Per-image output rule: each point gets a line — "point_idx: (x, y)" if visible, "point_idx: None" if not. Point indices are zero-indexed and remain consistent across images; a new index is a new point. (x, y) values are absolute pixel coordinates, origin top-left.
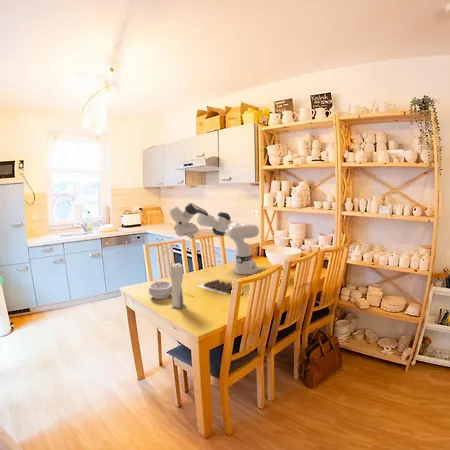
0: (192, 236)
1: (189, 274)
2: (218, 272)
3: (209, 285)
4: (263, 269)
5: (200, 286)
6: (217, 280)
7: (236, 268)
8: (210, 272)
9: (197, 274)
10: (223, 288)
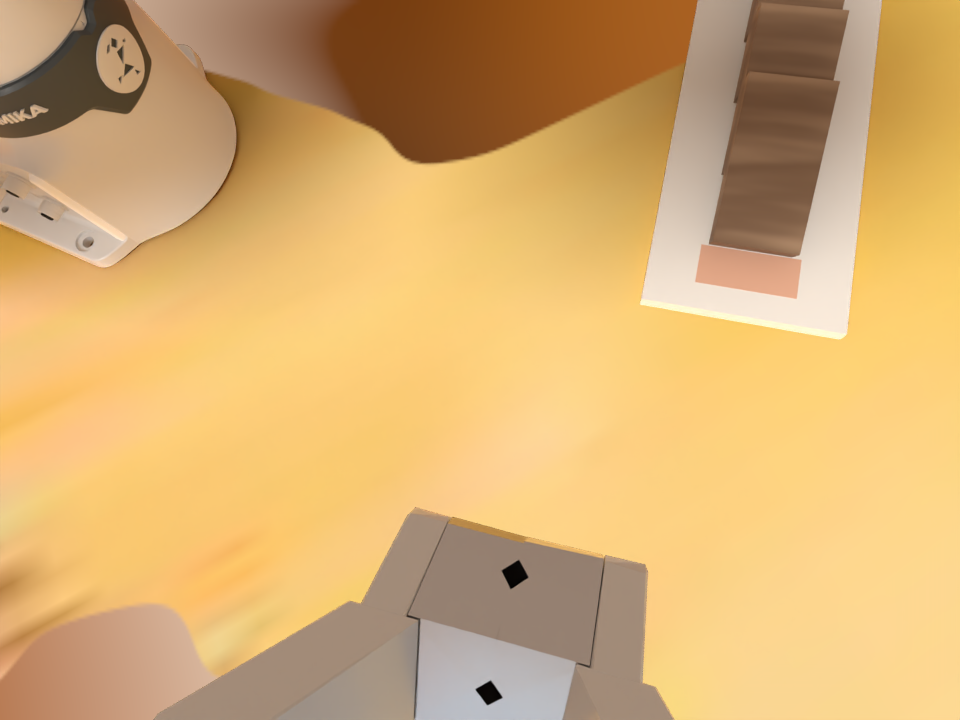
0: (523, 591)
1: None
2: (236, 385)
3: None
4: None
5: (822, 293)
6: (770, 74)
7: (169, 173)
8: (265, 475)
9: None
10: None
